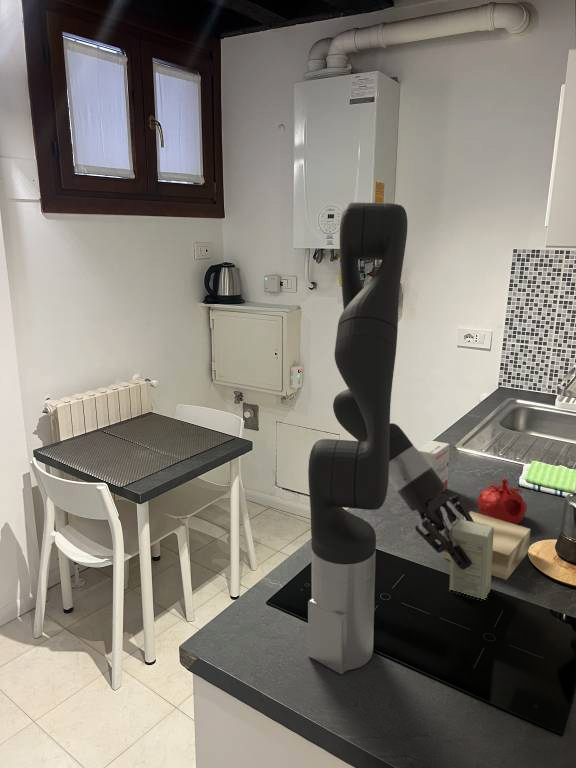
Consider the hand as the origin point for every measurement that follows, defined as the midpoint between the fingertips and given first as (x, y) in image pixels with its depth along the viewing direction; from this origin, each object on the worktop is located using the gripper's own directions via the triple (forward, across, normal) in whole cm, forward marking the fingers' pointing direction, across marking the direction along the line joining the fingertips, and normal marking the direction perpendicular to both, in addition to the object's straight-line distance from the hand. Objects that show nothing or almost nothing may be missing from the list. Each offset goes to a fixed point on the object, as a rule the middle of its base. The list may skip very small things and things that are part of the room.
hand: (473, 559), depth 100 cm
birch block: (+3, +13, +6) cm, 15 cm away
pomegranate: (+1, +29, +8) cm, 30 cm away
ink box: (-12, +32, +21) cm, 40 cm away
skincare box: (+4, 0, +5) cm, 6 cm away
